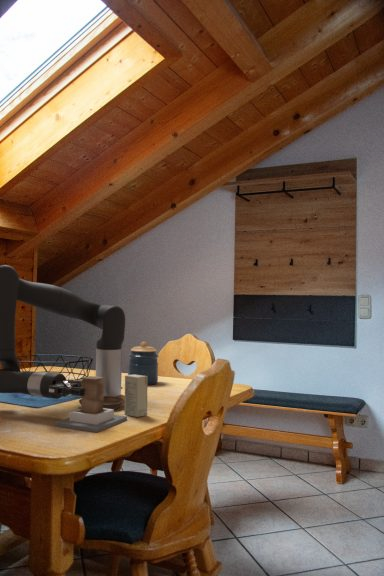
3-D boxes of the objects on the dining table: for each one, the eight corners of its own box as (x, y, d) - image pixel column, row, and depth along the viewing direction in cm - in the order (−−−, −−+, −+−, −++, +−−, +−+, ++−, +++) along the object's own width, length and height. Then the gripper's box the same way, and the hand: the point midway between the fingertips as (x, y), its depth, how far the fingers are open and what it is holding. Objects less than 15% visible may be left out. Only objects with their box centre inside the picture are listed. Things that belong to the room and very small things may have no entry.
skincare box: (147, 415, 158) (148, 376, 158) (137, 417, 155) (138, 377, 155) (133, 412, 162) (135, 373, 162) (123, 414, 159) (124, 374, 159)
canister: (130, 380, 224) (131, 340, 224) (159, 381, 224) (160, 340, 224) (124, 385, 211) (126, 342, 211) (156, 386, 211) (157, 343, 211)
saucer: (75, 404, 172) (76, 396, 172) (119, 402, 177) (119, 394, 177) (81, 414, 158) (82, 405, 158) (128, 412, 163) (128, 403, 163)
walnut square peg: (89, 416, 150) (91, 376, 150) (102, 418, 148) (104, 377, 148) (80, 420, 146) (82, 378, 146) (94, 421, 144) (95, 379, 144)
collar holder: (87, 414, 157) (87, 403, 157) (126, 419, 152) (127, 408, 152) (54, 426, 142) (54, 413, 142) (96, 432, 137) (97, 419, 137)
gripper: (31, 375, 147) (78, 380, 141) (62, 369, 160) (106, 373, 154) (30, 401, 147) (77, 407, 141) (61, 393, 160) (105, 398, 154)
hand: (92, 389), depth 147 cm, fingers open, 8 cm apart
